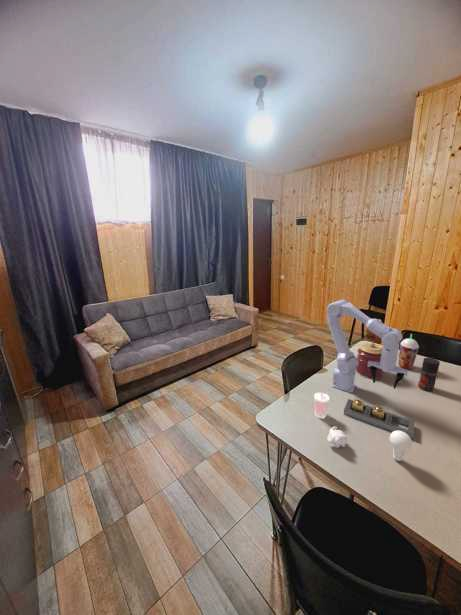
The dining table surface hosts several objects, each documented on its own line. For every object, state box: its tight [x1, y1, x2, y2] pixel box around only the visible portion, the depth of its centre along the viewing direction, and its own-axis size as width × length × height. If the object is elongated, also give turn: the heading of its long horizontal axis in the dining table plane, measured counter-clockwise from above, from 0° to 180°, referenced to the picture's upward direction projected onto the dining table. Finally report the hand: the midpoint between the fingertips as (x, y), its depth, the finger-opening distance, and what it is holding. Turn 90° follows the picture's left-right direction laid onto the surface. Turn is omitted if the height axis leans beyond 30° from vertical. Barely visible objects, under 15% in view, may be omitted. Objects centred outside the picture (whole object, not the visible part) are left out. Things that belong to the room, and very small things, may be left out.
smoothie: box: [398, 333, 420, 370], centre depth 136 cm, size 8×8×20 cm
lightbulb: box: [389, 430, 413, 462], centre depth 82 cm, size 6×6×11 cm
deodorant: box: [417, 357, 440, 393], centre depth 118 cm, size 6×6×15 cm
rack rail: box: [343, 398, 415, 441], centre depth 101 cm, size 24×8×2 cm, turn 53°
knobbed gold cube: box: [371, 404, 386, 421], centre depth 101 cm, size 4×4×6 cm
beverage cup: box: [313, 385, 330, 419], centre depth 103 cm, size 6×6×14 cm
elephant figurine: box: [326, 426, 350, 449], centre depth 89 cm, size 7×8×6 cm
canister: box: [355, 342, 384, 379], centre depth 133 cm, size 13×13×18 cm
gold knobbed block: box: [351, 398, 366, 414], centre depth 105 cm, size 4×4×6 cm
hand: (384, 384), depth 108 cm, fingers open, 7 cm apart
